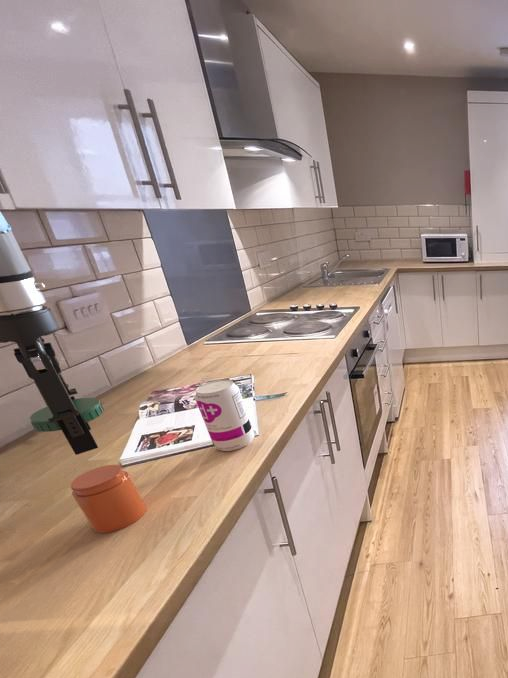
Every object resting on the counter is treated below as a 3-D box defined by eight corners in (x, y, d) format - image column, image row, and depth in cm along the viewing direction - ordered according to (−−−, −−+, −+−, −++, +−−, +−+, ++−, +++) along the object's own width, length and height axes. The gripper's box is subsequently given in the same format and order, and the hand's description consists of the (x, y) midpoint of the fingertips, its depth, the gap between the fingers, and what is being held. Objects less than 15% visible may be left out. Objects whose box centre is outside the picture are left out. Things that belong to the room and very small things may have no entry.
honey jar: (81, 534, 72) (54, 491, 67) (115, 505, 78) (92, 464, 74) (126, 531, 72) (101, 488, 68) (155, 502, 79) (135, 462, 74)
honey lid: (117, 406, 71) (112, 396, 71) (74, 431, 64) (68, 420, 63) (67, 407, 71) (62, 398, 70) (19, 432, 64) (12, 422, 63)
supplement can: (233, 455, 92) (211, 396, 86) (206, 449, 95) (183, 391, 88) (263, 436, 99) (244, 381, 93) (237, 431, 102) (218, 376, 95)
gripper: (54, 317, 56) (123, 454, 66) (44, 294, 68) (103, 412, 78) (-32, 330, 51) (57, 476, 61) (-26, 303, 63) (47, 428, 73)
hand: (83, 440), depth 69 cm, fingers closed on honey lid, 8 cm apart
